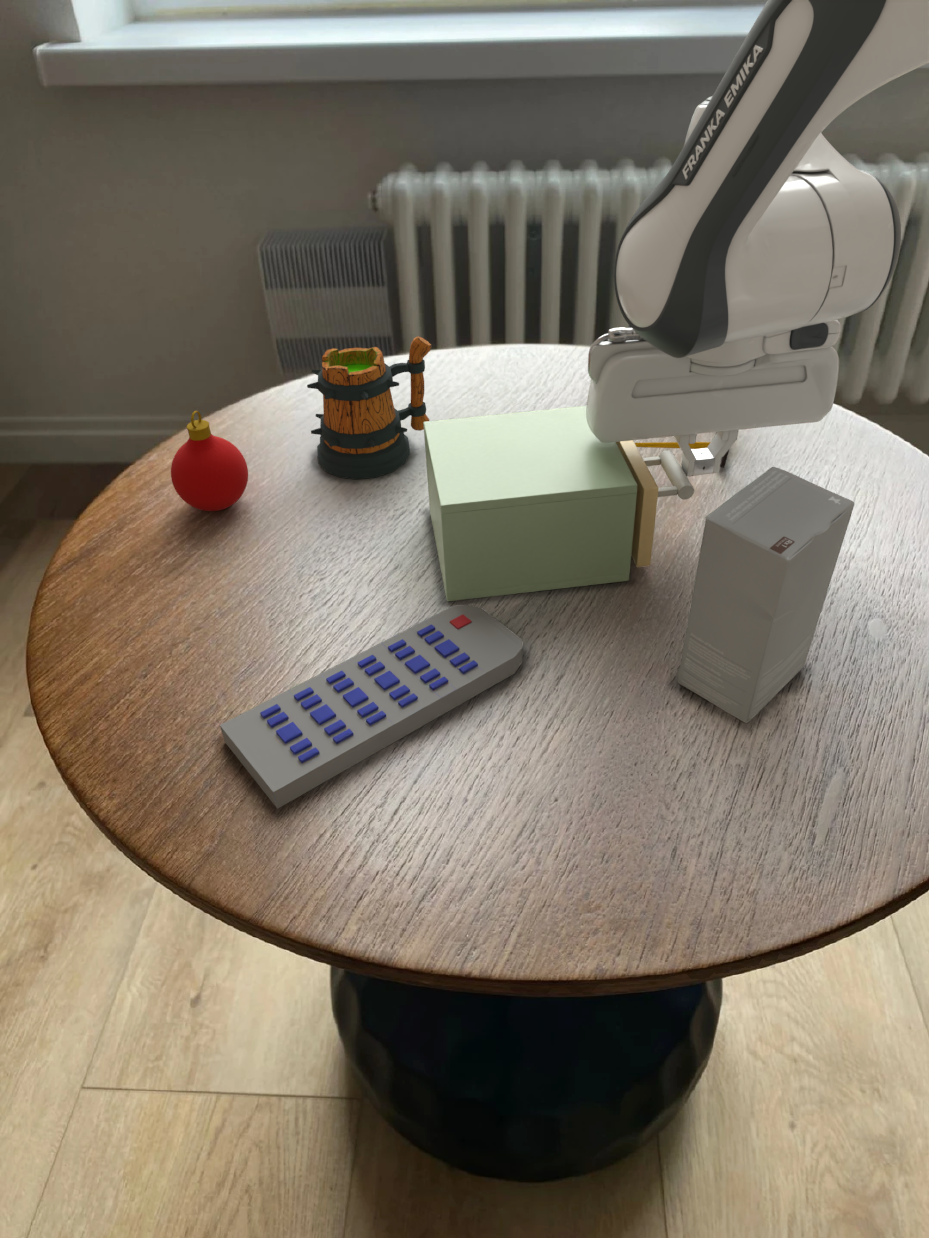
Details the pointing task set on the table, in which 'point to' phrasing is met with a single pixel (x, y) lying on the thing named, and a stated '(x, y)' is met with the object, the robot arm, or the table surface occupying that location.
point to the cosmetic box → (760, 589)
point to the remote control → (371, 700)
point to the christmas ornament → (208, 469)
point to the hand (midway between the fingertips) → (699, 471)
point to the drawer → (651, 495)
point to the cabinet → (527, 503)
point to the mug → (366, 410)
